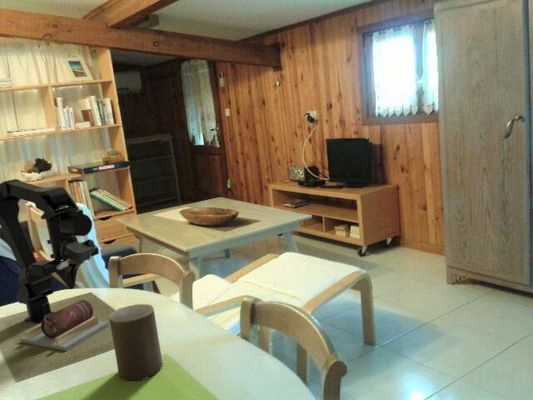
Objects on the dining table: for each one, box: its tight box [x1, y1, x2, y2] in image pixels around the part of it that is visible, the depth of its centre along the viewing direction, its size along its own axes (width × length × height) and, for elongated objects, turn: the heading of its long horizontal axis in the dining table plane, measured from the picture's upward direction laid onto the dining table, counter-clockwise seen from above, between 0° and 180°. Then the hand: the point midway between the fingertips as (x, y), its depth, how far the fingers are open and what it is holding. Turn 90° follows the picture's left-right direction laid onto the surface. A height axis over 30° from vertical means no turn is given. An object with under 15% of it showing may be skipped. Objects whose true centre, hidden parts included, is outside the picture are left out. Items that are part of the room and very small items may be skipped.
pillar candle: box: [108, 303, 164, 381], centre depth 111 cm, size 10×10×15 cm
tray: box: [20, 316, 110, 352], centre depth 136 cm, size 18×14×3 cm
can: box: [40, 299, 94, 338], centre depth 137 cm, size 6×6×14 cm
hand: (71, 288), depth 138 cm, fingers closed
